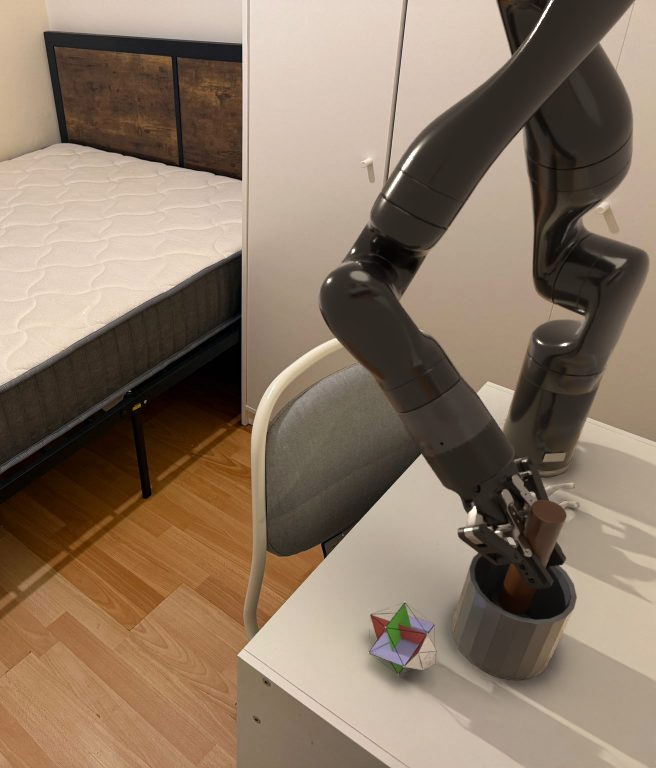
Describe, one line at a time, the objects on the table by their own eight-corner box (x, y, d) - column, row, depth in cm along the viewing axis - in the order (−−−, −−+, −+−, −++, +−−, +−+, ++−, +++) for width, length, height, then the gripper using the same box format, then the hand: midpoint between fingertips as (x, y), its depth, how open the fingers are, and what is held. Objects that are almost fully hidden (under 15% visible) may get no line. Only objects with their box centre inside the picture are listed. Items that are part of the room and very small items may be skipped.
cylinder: (501, 586, 79) (534, 495, 71) (531, 598, 77) (569, 506, 69) (494, 606, 77) (528, 515, 69) (525, 619, 76) (563, 527, 67)
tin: (465, 587, 87) (483, 531, 81) (557, 625, 82) (583, 568, 76) (441, 652, 80) (458, 595, 74) (539, 696, 76) (566, 640, 70)
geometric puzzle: (340, 636, 80) (388, 627, 74) (372, 597, 84) (420, 585, 77) (382, 690, 80) (434, 685, 73) (413, 648, 83) (465, 640, 77)
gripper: (454, 461, 65) (561, 619, 65) (515, 386, 73) (610, 527, 73) (390, 477, 71) (488, 622, 71) (453, 406, 79) (541, 537, 79)
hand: (549, 573), depth 72 cm, fingers closed on cylinder, 3 cm apart
